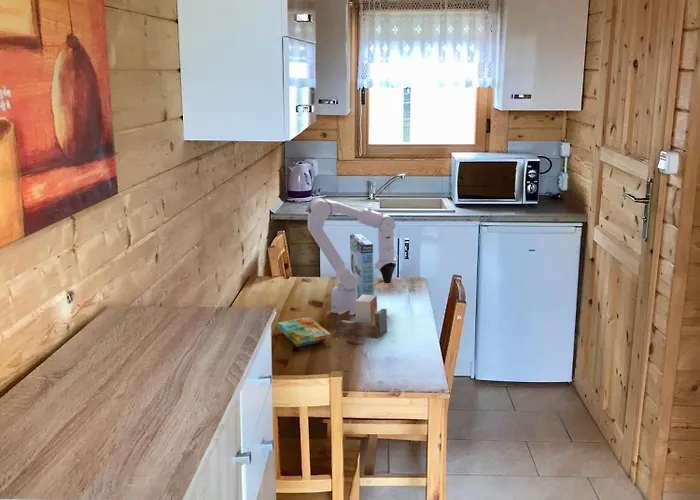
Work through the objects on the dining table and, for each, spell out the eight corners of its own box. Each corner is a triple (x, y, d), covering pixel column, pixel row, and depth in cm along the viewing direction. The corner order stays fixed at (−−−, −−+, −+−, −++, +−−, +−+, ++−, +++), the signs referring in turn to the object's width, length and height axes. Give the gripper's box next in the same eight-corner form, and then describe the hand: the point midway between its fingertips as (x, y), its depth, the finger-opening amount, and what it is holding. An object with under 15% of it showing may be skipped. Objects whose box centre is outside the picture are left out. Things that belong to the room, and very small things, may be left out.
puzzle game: (308, 314, 246) (331, 331, 228) (309, 327, 247) (331, 345, 229) (277, 320, 241) (297, 338, 223) (277, 333, 242) (298, 352, 225)
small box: (371, 331, 239) (370, 301, 237) (355, 330, 241) (354, 300, 239) (378, 323, 247) (377, 294, 244) (363, 322, 249) (361, 294, 246)
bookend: (375, 336, 235) (374, 313, 233) (383, 331, 239) (382, 308, 237) (379, 336, 234) (378, 314, 232) (387, 331, 238) (386, 309, 237)
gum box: (351, 288, 289) (349, 234, 284) (363, 287, 290) (361, 233, 285) (362, 302, 271) (360, 244, 265) (375, 301, 272) (373, 243, 266)
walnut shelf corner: (336, 331, 240) (335, 314, 239) (346, 325, 246) (345, 308, 245) (376, 338, 233) (376, 321, 231) (386, 331, 239) (386, 314, 237)
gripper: (386, 252, 251) (387, 289, 254) (404, 243, 263) (405, 278, 266) (369, 251, 254) (370, 287, 257) (388, 242, 266) (389, 276, 270)
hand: (387, 282), depth 262 cm, fingers closed
